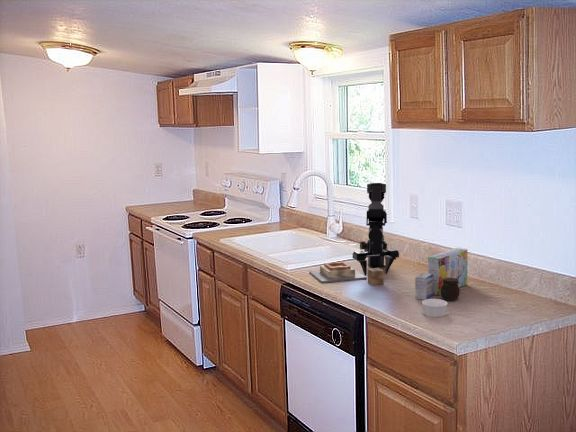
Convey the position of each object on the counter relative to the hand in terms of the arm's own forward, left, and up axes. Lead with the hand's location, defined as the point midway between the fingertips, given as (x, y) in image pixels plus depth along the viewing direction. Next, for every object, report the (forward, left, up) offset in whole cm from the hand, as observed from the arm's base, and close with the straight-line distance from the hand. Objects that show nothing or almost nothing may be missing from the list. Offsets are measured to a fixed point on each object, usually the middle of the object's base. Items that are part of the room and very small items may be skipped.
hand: (375, 274), depth 271 cm
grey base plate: (+11, -17, -4) cm, 21 cm away
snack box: (-24, +17, -4) cm, 30 cm away
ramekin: (-4, +44, -4) cm, 44 cm away
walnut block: (0, 0, -4) cm, 4 cm away
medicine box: (-10, +24, -4) cm, 26 cm away
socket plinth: (+11, -17, -3) cm, 20 cm away
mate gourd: (-18, +30, -4) cm, 35 cm away
